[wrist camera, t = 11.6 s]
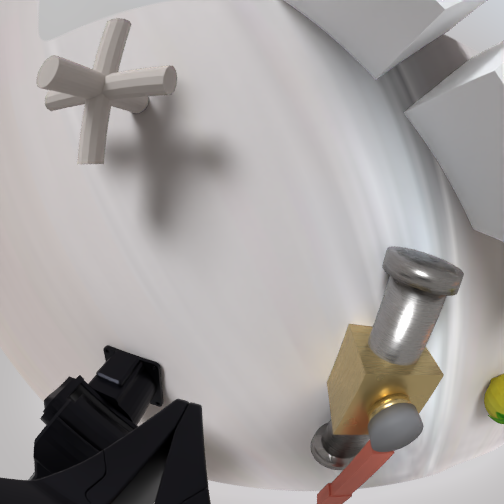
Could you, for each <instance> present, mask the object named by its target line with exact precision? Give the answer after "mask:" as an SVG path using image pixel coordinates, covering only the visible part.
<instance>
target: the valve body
mask: <svg viewBox="0 0 504 504" xmlns="http://www.w3.org/2000/svg"><path fill="white" fill-rule="evenodd" d="M383 269H384V270H385V272H387V273H388V274H389V275H390V277H389V281H388V284H387V287H386V290H385V293H384V297H383V300H382V303H381V306H380V308H379V311H378V314H377V317H376V320H375V323H374V325H373V327H371V326H362V325H354V324H349V325H348V328H347V331H346V334H345V337H344V340H343V342H342V345H341V348H340V351H339V353H338V356H337V359H336V361H335V364H334V366H333V369H332V371H331V374H330V376H329V379H328V381H327V386H328V394H329V402H330V411H331V420H330V422H329V423H326V424H324V425H323V426H321V427H320V428H319V429H318V430H317V432H316V433H315V435H314V437H313V439H312V441H311V452H312V454H313V456H314V458H315V459H316V460H317V461H318V462H319V463H320V464H321V465H323V466H325V467H327V468H330V469H334V470H344V469H345V468H346V467H347V466H348V465H349V464H350V462H351V461H352V460H353V459H354V458H355V457H356V455H357V454H358V453H359V452H360V451H361V449H362V448H363V447H364V446H365V445H366V443H367V442H368V441H369V439H370V438H369V433H368V423H369V421H370V420H371V419H372V418H373V416H375V415H376V414H377V413H378V412H380V411H381V410H383V409H385V408H387V407H389V406H392V405H395V404H398V403H411V404H413V405H415V407H416V408H417V411H418V413H420V411H421V410H422V408H423V407H424V405H425V404H426V402H427V401H428V399H429V398H430V396H431V395H432V393H433V392H434V390H435V389H436V387H437V385H438V384H439V382H440V380H441V379H442V377H443V373H442V371H441V370H440V368H439V367H438V365H437V363H436V362H435V360H434V359H433V357H432V356H431V354H430V353H429V351H428V350H427V348H426V347H425V346H426V344H427V342H428V340H429V337H430V335H431V333H432V331H433V328H434V326H435V324H436V321H437V319H438V316H439V314H440V312H441V309H442V306H443V304H444V301H445V298H446V296H451V295H455V294H457V293H458V290H459V287H460V284H461V281H462V278H463V275H464V273H463V272H462V271H461V270H460V269H459V268H458V267H456V266H455V265H453V264H451V263H449V262H447V261H445V260H443V259H440V258H438V257H435V256H433V255H430V254H427V253H424V252H420V251H417V250H413V249H408V248H403V247H388V248H387V251H386V255H385V259H384V262H383Z"/></svg>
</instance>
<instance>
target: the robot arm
mask: <svg viewBox="0 0 504 504" xmlns="http://www.w3.org/2000/svg"><path fill="white" fill-rule="evenodd" d="M104 354H105V359H106V362H105V364H104V365H103V366H102V367H101V368H100V369H99V370H98V371H97V373H96V374H97V375H96V376H95V377H94V378H93V379H92V380H91V381H90V383H89V384H87V383H86V382H85V381H84V379H83V378H82V377H81V376H80V375H79V376H78V377H77V378H76V379H74V378H72V377H68V378H67V380H66V381H65V382H64V383H63V384H62V385H61V386H60V387H58V388H57V389H56V390H55V391H54V392H53V393H51V394H50V395H49V396H48V397H47V398H46V399H45V400H44V406H45V409H44V411H43V412H44V414H43V416H42V417H41V420H42V421H43V422H44V423H45V424H46V427H45V428H44V429H43V430H42V432H41V433H40V434H39V435H38V436H37V438H36V439H35V442H34V461H35V472H34V473H33V475H32V476H31V477H30V479H29V480H15V479H7V478H0V504H210V497H209V490H208V480H207V471H206V460H205V448H204V435H203V420H202V406H201V405H199V404H195V403H189V402H188V401H185V400H181V399H176V400H175V401H173V402H172V403H171V404H169V405H168V406H167V407H165V408H164V409H163V410H161V411H160V412H158V413H157V414H156V415H154V416H153V417H151V418H150V419H149V420H147V421H146V422H144V423H143V424H142V425H140V426H139V427H138V426H137V424H138V422H139V421H140V419H141V417H142V416H143V414H144V412H145V411H146V409H147V407H148V405H149V404H153V405H156V406H162V404H163V395H162V384H161V372H160V365H159V364H158V363H157V362H154V361H151V360H148V359H145V358H142V357H139V356H136V355H133V354H130V353H127V352H124V351H122V350H119V349H116V348H114V347H111V346H108V345H107V346H105V347H104ZM154 366H155V367H154ZM154 502H155V503H154Z"/></svg>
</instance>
